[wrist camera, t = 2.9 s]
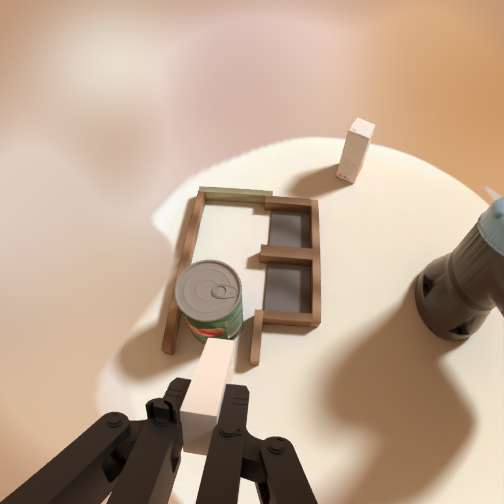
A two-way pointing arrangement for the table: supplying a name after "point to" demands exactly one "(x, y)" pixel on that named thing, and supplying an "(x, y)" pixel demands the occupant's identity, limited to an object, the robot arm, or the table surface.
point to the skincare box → (355, 150)
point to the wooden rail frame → (269, 262)
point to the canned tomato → (210, 300)
